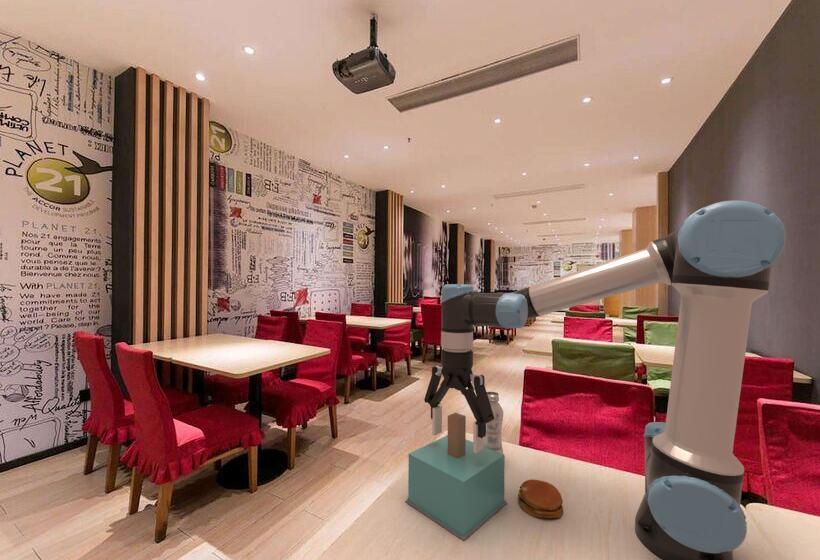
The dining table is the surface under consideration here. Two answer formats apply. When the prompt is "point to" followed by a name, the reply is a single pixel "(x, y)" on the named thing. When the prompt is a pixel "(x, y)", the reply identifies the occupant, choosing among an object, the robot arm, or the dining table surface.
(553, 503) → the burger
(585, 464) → the dining table surface
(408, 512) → the dining table surface
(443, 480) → the teal base with peg
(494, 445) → the plastic bottle
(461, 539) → the mat
